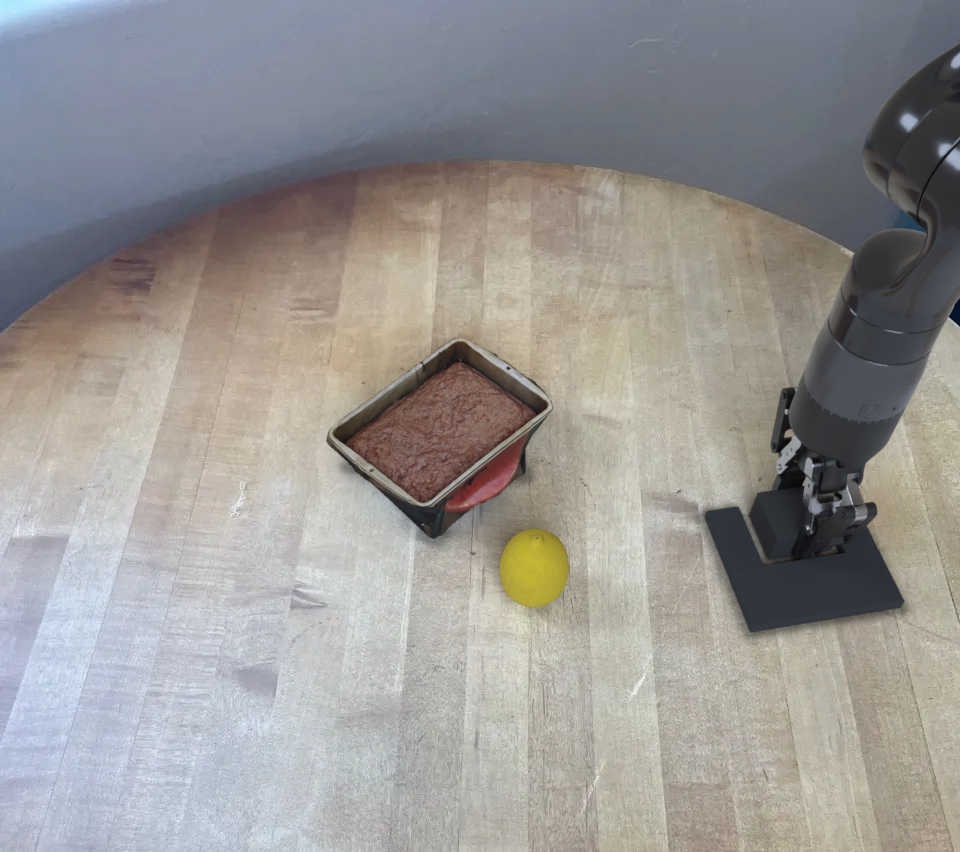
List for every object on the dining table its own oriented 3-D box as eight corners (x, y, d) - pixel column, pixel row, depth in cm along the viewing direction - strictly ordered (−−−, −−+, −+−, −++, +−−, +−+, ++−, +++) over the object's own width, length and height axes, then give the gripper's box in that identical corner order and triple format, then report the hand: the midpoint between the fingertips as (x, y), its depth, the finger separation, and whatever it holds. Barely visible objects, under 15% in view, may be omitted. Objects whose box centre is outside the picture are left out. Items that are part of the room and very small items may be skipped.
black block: (809, 505, 87) (820, 482, 84) (831, 550, 84) (842, 528, 82) (748, 514, 86) (757, 492, 84) (768, 560, 83) (777, 539, 81)
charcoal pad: (843, 500, 88) (848, 489, 87) (898, 611, 82) (905, 601, 81) (703, 521, 87) (706, 510, 86) (748, 636, 81) (753, 626, 79)
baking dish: (558, 488, 91) (574, 397, 84) (409, 575, 82) (412, 482, 75) (453, 412, 97) (459, 321, 90) (305, 485, 89) (298, 391, 81)
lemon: (574, 584, 83) (584, 524, 76) (549, 634, 80) (556, 577, 74) (514, 561, 84) (518, 500, 78) (487, 610, 82) (488, 552, 75)
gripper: (952, 446, 67) (865, 590, 81) (868, 305, 74) (803, 459, 89) (847, 462, 66) (779, 604, 81) (773, 317, 73) (722, 471, 88)
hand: (791, 527), depth 85 cm, fingers closed on black block, 5 cm apart
